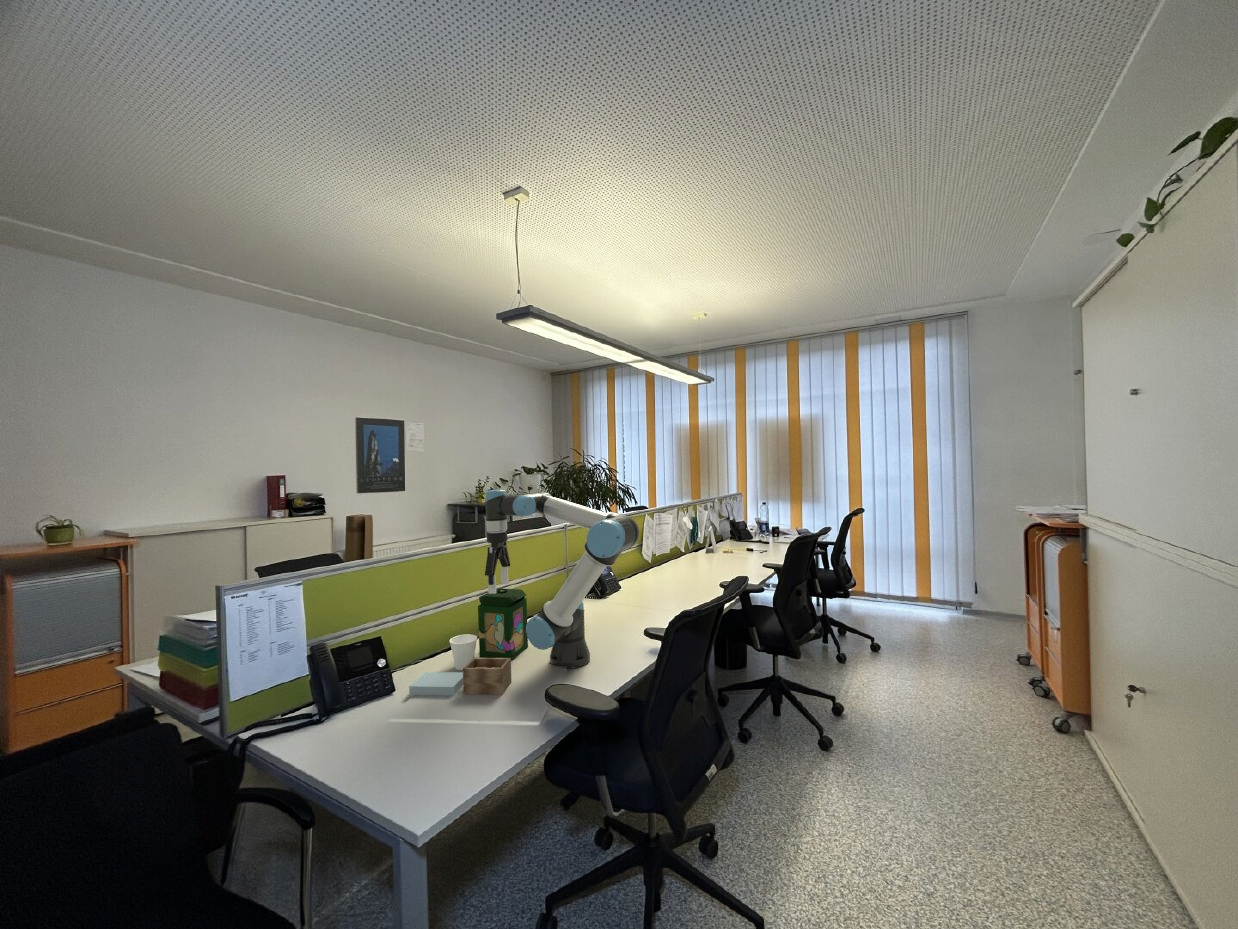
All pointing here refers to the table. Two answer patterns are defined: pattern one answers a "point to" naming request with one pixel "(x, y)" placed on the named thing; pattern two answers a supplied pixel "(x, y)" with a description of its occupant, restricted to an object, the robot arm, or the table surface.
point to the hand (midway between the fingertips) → (498, 588)
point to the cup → (463, 649)
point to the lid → (437, 684)
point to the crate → (487, 676)
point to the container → (502, 624)
